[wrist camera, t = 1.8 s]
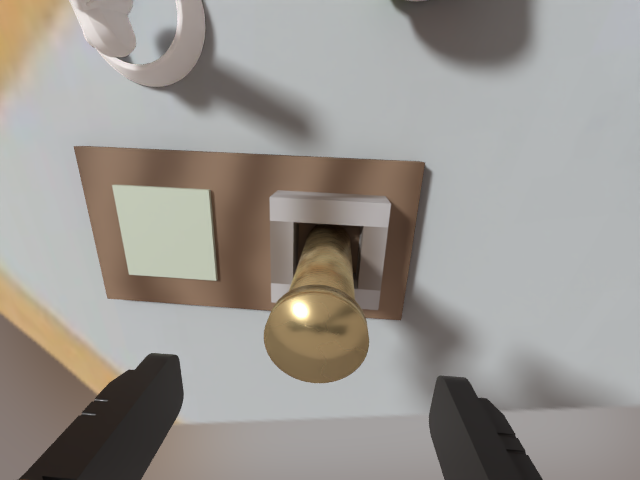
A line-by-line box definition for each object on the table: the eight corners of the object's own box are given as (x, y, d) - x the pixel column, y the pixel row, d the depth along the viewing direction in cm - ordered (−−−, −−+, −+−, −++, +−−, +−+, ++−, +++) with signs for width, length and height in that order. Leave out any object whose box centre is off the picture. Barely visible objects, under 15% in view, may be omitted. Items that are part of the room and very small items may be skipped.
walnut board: (421, 161, 20) (436, 166, 17) (398, 313, 24) (407, 340, 21) (85, 146, 22) (39, 147, 18) (116, 292, 26) (82, 315, 22)
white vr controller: (274, 41, 14) (120, 83, 12) (210, 75, 24) (118, 102, 21) (201, -206, 10) (-49, -226, 8) (160, -48, 20) (40, -34, 17)
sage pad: (210, 189, 21) (208, 190, 21) (217, 278, 23) (216, 280, 23) (115, 184, 21) (111, 185, 21) (131, 272, 24) (129, 274, 23)
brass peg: (358, 218, 21) (373, 299, 11) (353, 270, 22) (363, 387, 12) (301, 215, 21) (262, 291, 11) (300, 266, 22) (264, 378, 12)
